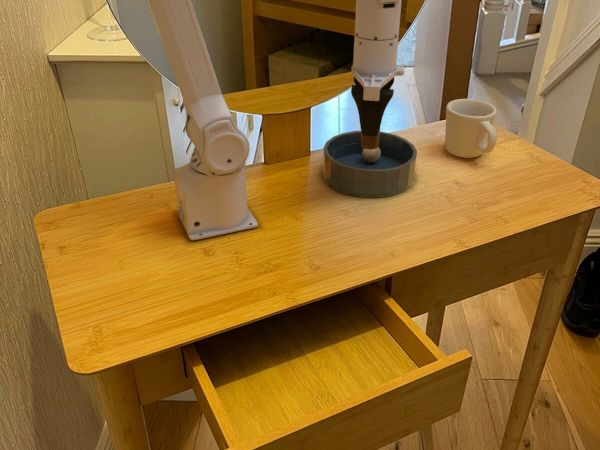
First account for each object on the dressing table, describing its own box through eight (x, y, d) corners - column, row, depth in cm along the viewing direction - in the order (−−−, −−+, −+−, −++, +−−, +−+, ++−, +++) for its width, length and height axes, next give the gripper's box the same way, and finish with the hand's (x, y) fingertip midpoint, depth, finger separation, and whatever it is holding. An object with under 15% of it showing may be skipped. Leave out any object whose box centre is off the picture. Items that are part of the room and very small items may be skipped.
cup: (509, 165, 102) (518, 119, 97) (467, 173, 99) (475, 126, 95) (470, 138, 110) (477, 95, 106) (431, 145, 108) (437, 102, 103)
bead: (366, 167, 100) (368, 150, 98) (358, 159, 102) (359, 142, 100) (383, 164, 101) (384, 147, 99) (374, 156, 103) (375, 139, 101)
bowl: (347, 205, 91) (348, 178, 88) (309, 163, 102) (309, 138, 99) (431, 187, 95) (434, 161, 93) (385, 149, 106) (388, 125, 104)
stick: (365, 151, 89) (369, 97, 84) (357, 143, 91) (360, 91, 86) (381, 148, 90) (386, 94, 85) (373, 140, 92) (377, 88, 87)
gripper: (407, 52, 75) (398, 154, 82) (407, 20, 87) (399, 112, 94) (349, 50, 76) (344, 151, 83) (356, 18, 88) (352, 109, 95)
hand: (370, 130), depth 89 cm, fingers closed on stick, 2 cm apart
